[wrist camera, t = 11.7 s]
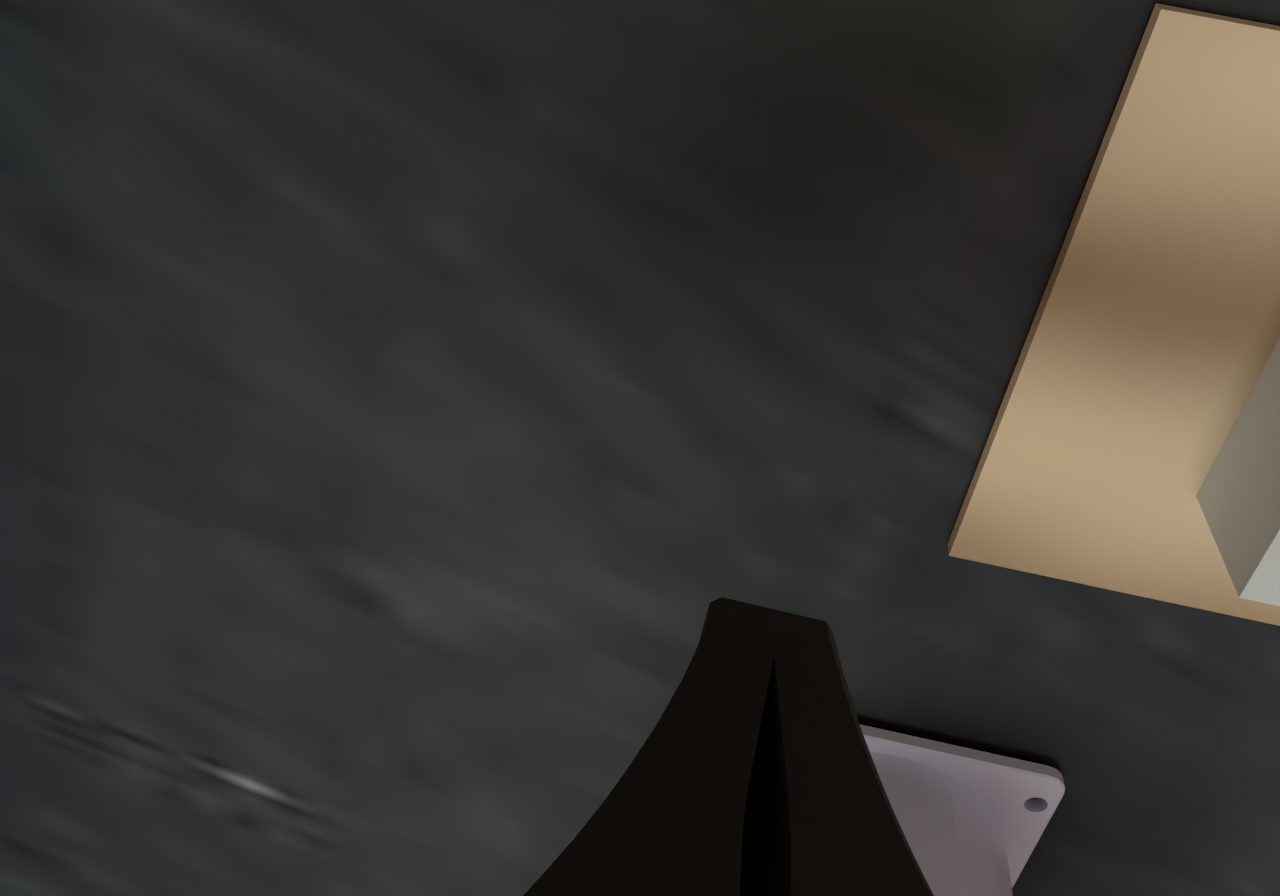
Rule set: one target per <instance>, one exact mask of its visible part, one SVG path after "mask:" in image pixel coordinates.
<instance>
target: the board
mask: <svg viewBox="0 0 1280 896" xmlns="http://www.w3.org/2000/svg"><path fill="white" fill-rule="evenodd" d="M1279 338H1280V26H1276V25H1271V24H1265V23H1260V22H1254V21H1249V20H1244V19H1238V18H1233V17H1227V16H1222V15H1217V14H1211V13H1206V12H1201V11H1195V10H1190V9H1184V8H1179V7H1174V6H1168V5H1163V4H1157V3H1156V4H1155V6H1154V9H1153V12H1152V14H1151V17H1150V19H1149V22H1148V25H1147V27H1146V30H1145V32H1144V35H1143V37H1142V40H1141V43H1140V45H1139V48H1138V50H1137V53H1136V56H1135V58H1134V61H1133V63H1132V66H1131V69H1130V71H1129V74H1128V76H1127V79H1126V82H1125V84H1124V87H1123V89H1122V92H1121V95H1120V97H1119V100H1118V102H1117V105H1116V108H1115V110H1114V113H1113V115H1112V118H1111V121H1110V123H1109V126H1108V128H1107V131H1106V134H1105V136H1104V139H1103V141H1102V144H1101V147H1100V149H1099V152H1098V154H1097V157H1096V160H1095V162H1094V165H1093V167H1092V170H1091V173H1090V175H1089V178H1088V180H1087V183H1086V186H1085V188H1084V191H1083V193H1082V196H1081V199H1080V201H1079V204H1078V206H1077V209H1076V211H1075V214H1074V217H1073V219H1072V222H1071V224H1070V227H1069V230H1068V232H1067V235H1066V237H1065V240H1064V243H1063V245H1062V248H1061V250H1060V253H1059V256H1058V258H1057V261H1056V263H1055V266H1054V269H1053V271H1052V274H1051V276H1050V279H1049V282H1048V284H1047V287H1046V289H1045V292H1044V295H1043V297H1042V300H1041V302H1040V305H1039V308H1038V310H1037V313H1036V315H1035V318H1034V321H1033V323H1032V326H1031V328H1030V331H1029V334H1028V336H1027V339H1026V341H1025V344H1024V347H1023V349H1022V352H1021V354H1020V357H1019V360H1018V362H1017V365H1016V367H1015V370H1014V373H1013V375H1012V378H1011V380H1010V383H1009V386H1008V388H1007V391H1006V393H1005V396H1004V398H1003V401H1002V404H1001V406H1000V409H999V411H998V414H997V417H996V419H995V422H994V424H993V427H992V430H991V432H990V435H989V437H988V440H987V443H986V445H985V448H984V450H983V453H982V456H981V458H980V461H979V463H978V466H977V469H976V471H975V474H974V476H973V479H972V482H971V484H970V487H969V489H968V492H967V495H966V497H965V500H964V502H963V505H962V508H961V510H960V513H959V515H958V518H957V521H956V523H955V526H954V528H953V531H952V534H951V536H950V539H949V541H948V552H949V556H953V557H958V558H962V559H967V560H972V561H977V562H981V563H986V564H991V565H995V566H1000V567H1005V568H1010V569H1014V570H1019V571H1024V572H1029V573H1033V574H1038V575H1043V576H1047V577H1052V578H1057V579H1062V580H1066V581H1071V582H1076V583H1080V584H1085V585H1090V586H1095V587H1099V588H1104V589H1109V590H1113V591H1118V592H1123V593H1128V594H1132V595H1137V596H1142V597H1146V598H1151V599H1156V600H1161V601H1165V602H1170V603H1175V604H1179V605H1184V606H1189V607H1194V608H1198V609H1203V610H1208V611H1212V612H1217V613H1222V614H1227V615H1231V616H1236V617H1241V618H1245V619H1250V620H1255V621H1260V622H1264V623H1269V624H1274V625H1278V626H1280V606H1276V605H1271V604H1267V603H1262V602H1257V601H1252V600H1248V599H1243V598H1239V596H1238V594H1237V592H1236V589H1235V587H1234V585H1233V582H1232V580H1231V578H1230V575H1229V573H1228V571H1227V568H1226V566H1225V564H1224V561H1223V559H1222V556H1221V554H1220V552H1219V549H1218V547H1217V545H1216V542H1215V540H1214V538H1213V535H1212V533H1211V531H1210V528H1209V526H1208V524H1207V521H1206V519H1205V516H1204V514H1203V512H1202V509H1201V507H1200V505H1199V502H1198V500H1197V498H1196V495H1197V493H1198V491H1199V489H1200V487H1201V485H1202V483H1203V481H1204V480H1205V478H1206V476H1207V474H1208V472H1209V470H1210V468H1211V466H1212V464H1213V463H1214V461H1215V459H1216V457H1217V455H1218V453H1219V451H1220V449H1221V448H1222V446H1223V444H1224V442H1225V440H1226V438H1227V436H1228V434H1229V432H1230V431H1231V429H1232V427H1233V425H1234V423H1235V421H1236V419H1237V417H1238V415H1239V414H1240V412H1241V410H1242V408H1243V406H1244V404H1245V402H1246V400H1247V398H1248V397H1249V395H1250V393H1251V391H1252V389H1253V387H1254V385H1255V383H1256V382H1257V380H1258V378H1259V376H1260V374H1261V372H1262V370H1263V368H1264V366H1265V365H1266V363H1267V361H1268V359H1269V357H1270V355H1271V353H1272V351H1273V349H1274V348H1275V346H1276V344H1277V342H1278V340H1279Z"/></svg>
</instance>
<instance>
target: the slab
mask: <svg viewBox="0 0 1280 896" xmlns="http://www.w3.org/2000/svg"><path fill="white" fill-rule="evenodd" d="M1196 498H1197V500H1198V502H1199V505H1200V507H1201V509H1202V512H1203V514H1204V516H1205V519H1206V521H1207V524H1208V526H1209V528H1210V531H1211V533H1212V535H1213V538H1214V540H1215V542H1216V545H1217V547H1218V549H1219V552H1220V554H1221V556H1222V559H1223V561H1224V564H1225V566H1226V568H1227V571H1228V573H1229V575H1230V578H1231V580H1232V582H1233V585H1234V587H1235V589H1236V592H1237V594H1238V596H1239V598H1243V599H1248V600H1252V601H1257V602H1262V603H1267V604H1271V605H1276V606H1280V338H1279V340H1278V342H1277V344H1276V346H1275V348H1274V349H1273V351H1272V353H1271V355H1270V357H1269V359H1268V361H1267V363H1266V365H1265V366H1264V368H1263V370H1262V372H1261V374H1260V376H1259V378H1258V380H1257V382H1256V383H1255V385H1254V387H1253V389H1252V391H1251V393H1250V395H1249V397H1248V398H1247V400H1246V402H1245V404H1244V406H1243V408H1242V410H1241V412H1240V414H1239V415H1238V417H1237V419H1236V421H1235V423H1234V425H1233V427H1232V429H1231V431H1230V432H1229V434H1228V436H1227V438H1226V440H1225V442H1224V444H1223V446H1222V448H1221V449H1220V451H1219V453H1218V455H1217V457H1216V459H1215V461H1214V463H1213V464H1212V466H1211V468H1210V470H1209V472H1208V474H1207V476H1206V478H1205V480H1204V481H1203V483H1202V485H1201V487H1200V489H1199V491H1198V493H1197V495H1196Z"/></svg>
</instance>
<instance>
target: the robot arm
mask: <svg viewBox="0 0 1280 896" xmlns="http://www.w3.org/2000/svg"><path fill="white" fill-rule="evenodd" d="M1064 792H1065V785H1064V780H1063V777H1062V774H1061V773H1060V772H1059V771H1058V770H1057V769H1055V768H1053V767H1050V766H1047V765H1042V764H1038V763H1033V762H1029V761H1024V760H1020V759H1015V758H1011V757H1006V756H1001V755H997V754H992V753H988V752H983V751H979V750H974V749H970V748H965V747H961V746H956V745H952V744H947V743H943V742H938V741H933V740H929V739H924V738H920V737H915V736H911V735H906V734H902V733H897V732H893V731H888V730H884V729H879V728H875V727H870V726H865V725H861V724H859V721H858V718H857V715H856V712H855V709H854V706H853V703H852V700H851V697H850V694H849V691H848V687H847V684H846V681H845V677H844V674H843V671H842V667H841V663H840V660H839V656H838V652H837V648H836V644H835V640H834V635H833V631H832V630H831V628H830V627H829V625H828V624H827V622H825V621H821V620H817V619H812V618H808V617H804V616H800V615H795V614H791V613H787V612H782V611H778V610H774V609H770V608H765V607H761V606H757V605H753V604H748V603H744V602H740V601H735V600H731V599H727V598H723V597H722V598H719V599H717V600H715V601H712V602H710V605H709V608H708V612H707V616H706V619H705V623H704V627H703V630H702V634H701V638H700V641H699V644H698V647H697V649H696V652H695V654H694V656H693V658H692V660H691V662H690V665H689V667H688V669H687V671H686V673H685V675H684V677H683V679H682V681H681V683H680V685H679V686H678V688H677V690H676V692H675V693H674V695H673V697H672V699H671V701H670V702H669V704H668V706H667V708H666V710H665V711H664V713H663V715H662V717H661V718H660V720H659V722H658V723H657V725H656V727H655V728H654V730H653V731H652V733H651V734H650V736H649V737H648V739H647V740H646V742H645V743H644V745H643V746H642V748H641V749H640V751H639V752H638V754H637V755H636V757H635V758H634V760H633V761H632V763H631V764H630V766H629V767H628V769H627V770H626V772H625V773H624V775H623V776H622V778H621V779H620V780H619V782H618V783H617V784H616V786H615V787H614V789H613V790H612V791H611V793H610V794H609V795H608V797H607V798H606V799H605V801H604V802H603V803H602V805H601V806H600V807H599V808H598V810H597V811H596V812H595V814H594V815H593V816H592V817H591V818H590V820H589V821H588V822H587V823H586V825H585V826H584V827H583V828H582V830H581V831H580V832H579V833H578V835H577V836H576V837H575V838H574V839H573V841H572V842H571V843H570V844H569V845H568V846H567V847H566V849H565V850H564V851H563V852H562V853H561V854H560V855H559V857H558V858H557V859H556V860H555V861H554V862H553V863H552V865H551V866H550V867H549V868H548V869H547V870H546V871H545V873H544V874H543V875H542V876H541V877H540V878H539V879H538V880H537V881H536V882H535V883H534V885H533V886H532V887H531V888H530V889H529V890H528V891H527V892H526V893H525V894H524V895H523V896H1013V893H1012V888H1013V886H1014V884H1015V883H1016V881H1017V879H1018V877H1019V875H1020V873H1021V872H1022V870H1023V868H1024V866H1025V864H1026V863H1027V861H1028V859H1029V857H1030V855H1031V853H1032V852H1033V850H1034V848H1035V846H1036V844H1037V843H1038V841H1039V839H1040V837H1041V835H1042V833H1043V832H1044V830H1045V828H1046V826H1047V824H1048V823H1049V821H1050V819H1051V817H1052V815H1053V813H1054V812H1055V810H1056V808H1057V806H1058V804H1059V803H1060V801H1061V799H1062V797H1063V795H1064ZM1033 797H1035V798H1038V799H1030V798H1033Z"/></svg>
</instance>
